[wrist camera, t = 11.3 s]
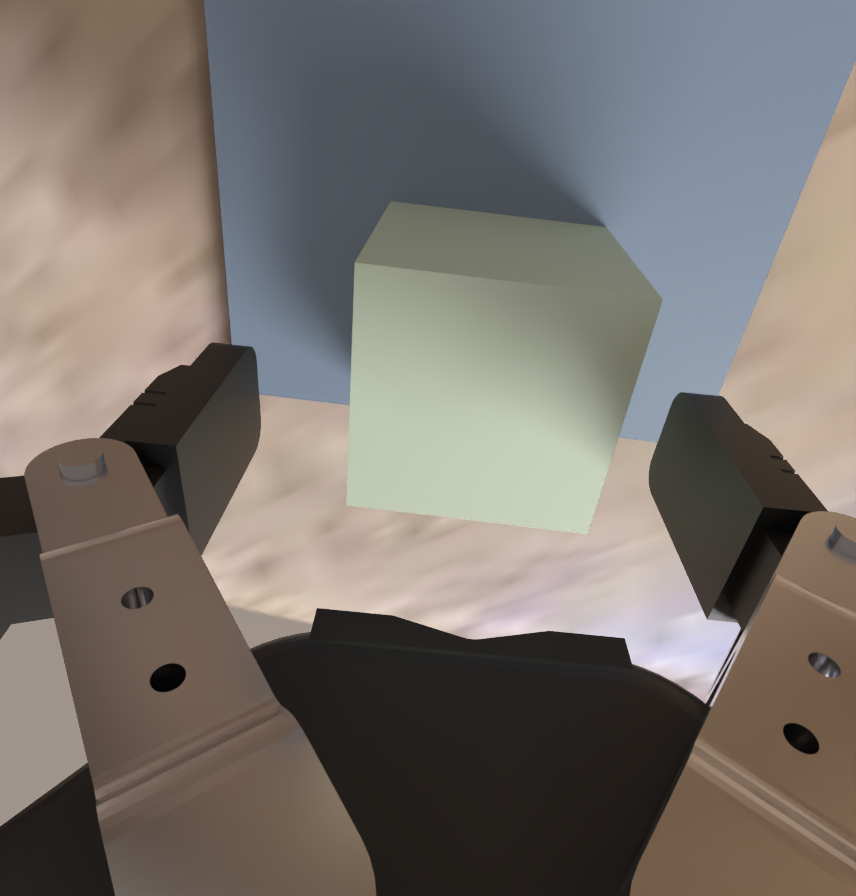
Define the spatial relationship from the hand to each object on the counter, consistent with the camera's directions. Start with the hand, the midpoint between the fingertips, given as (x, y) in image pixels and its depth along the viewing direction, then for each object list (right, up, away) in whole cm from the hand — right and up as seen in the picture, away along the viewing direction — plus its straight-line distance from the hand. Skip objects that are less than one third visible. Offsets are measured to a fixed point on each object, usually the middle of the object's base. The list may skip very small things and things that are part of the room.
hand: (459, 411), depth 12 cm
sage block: (+1, +3, +4) cm, 4 cm away
